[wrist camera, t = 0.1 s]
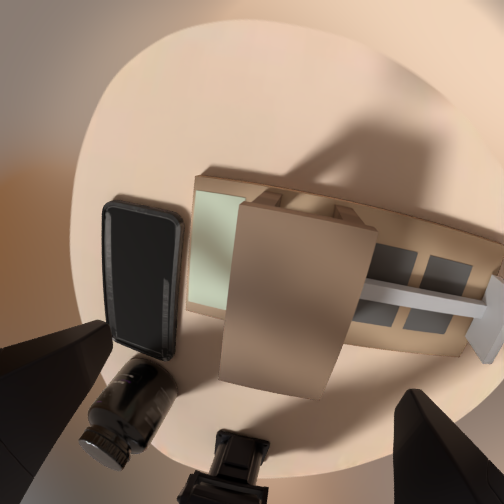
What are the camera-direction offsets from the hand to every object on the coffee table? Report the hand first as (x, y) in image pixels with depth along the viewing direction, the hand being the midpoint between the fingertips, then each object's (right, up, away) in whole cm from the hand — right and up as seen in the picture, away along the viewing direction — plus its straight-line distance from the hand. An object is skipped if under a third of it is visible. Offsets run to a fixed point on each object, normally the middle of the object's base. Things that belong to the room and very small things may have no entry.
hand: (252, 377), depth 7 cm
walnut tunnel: (+3, +2, +14) cm, 15 cm away
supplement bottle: (-11, -11, +22) cm, 27 cm away
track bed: (+8, +2, +14) cm, 16 cm away
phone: (-10, 0, +18) cm, 21 cm away
